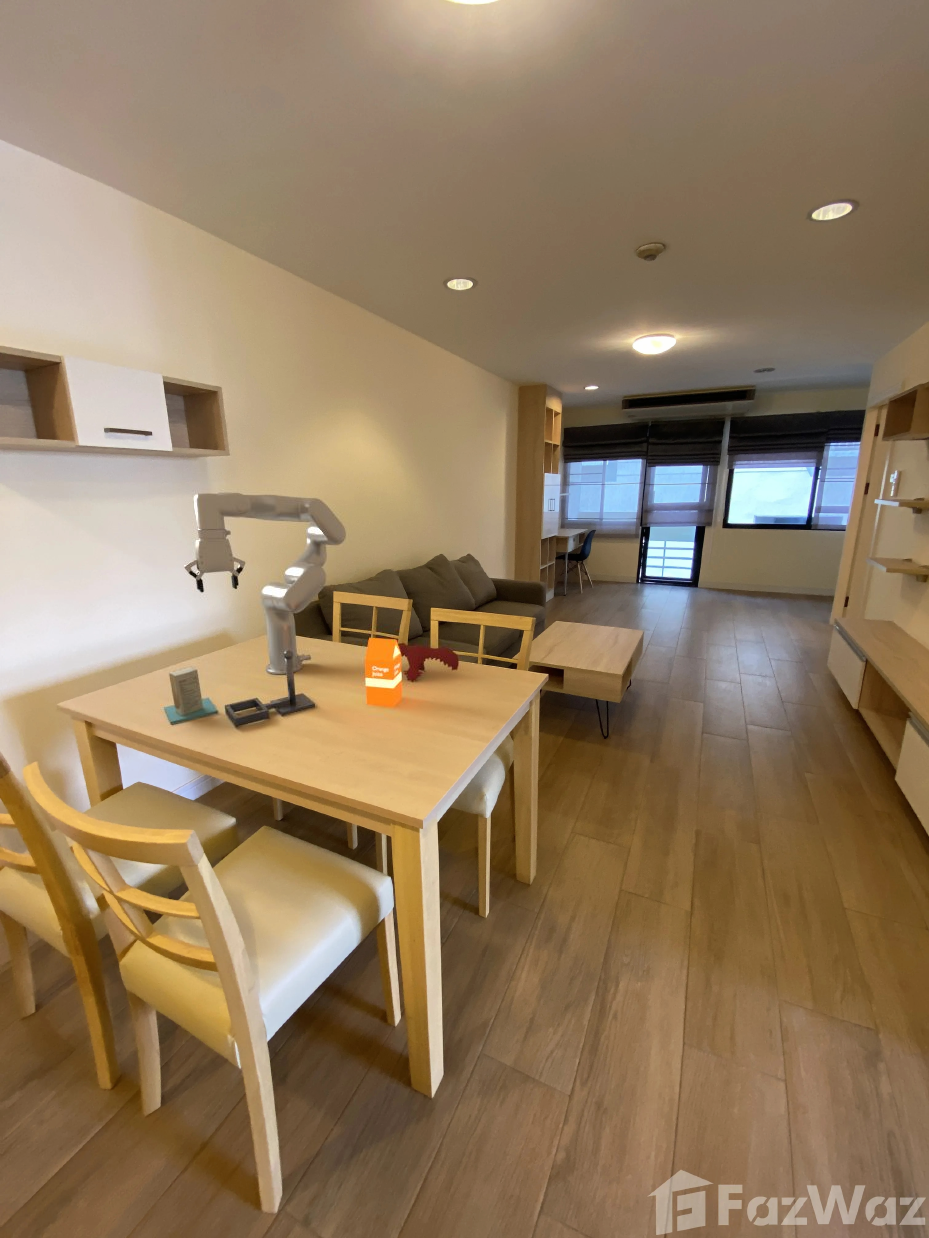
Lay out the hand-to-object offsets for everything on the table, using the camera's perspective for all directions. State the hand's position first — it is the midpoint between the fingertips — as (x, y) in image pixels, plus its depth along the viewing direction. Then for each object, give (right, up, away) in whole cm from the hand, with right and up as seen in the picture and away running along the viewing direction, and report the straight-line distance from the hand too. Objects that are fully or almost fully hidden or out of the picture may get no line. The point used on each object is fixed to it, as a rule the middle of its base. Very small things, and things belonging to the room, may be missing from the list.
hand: (218, 590), depth 157 cm
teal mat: (-3, -36, -11) cm, 38 cm away
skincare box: (-3, -36, -12) cm, 38 cm away
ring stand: (+21, -36, -10) cm, 43 cm away
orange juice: (+53, -35, -2) cm, 63 cm away
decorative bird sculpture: (+61, -29, +19) cm, 70 cm away
